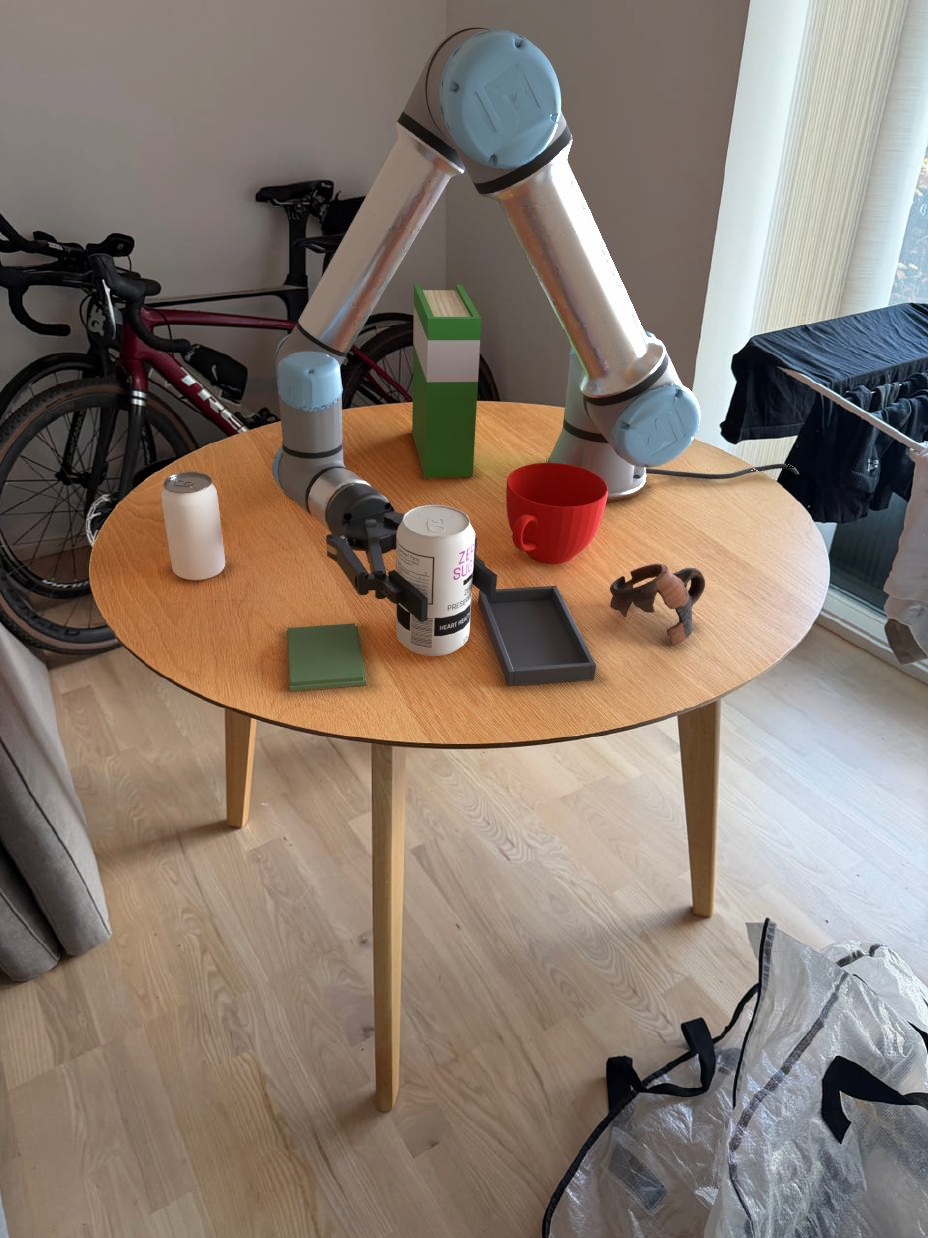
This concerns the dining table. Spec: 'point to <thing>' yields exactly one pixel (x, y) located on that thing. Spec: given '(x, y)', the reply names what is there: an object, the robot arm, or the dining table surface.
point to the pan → (535, 636)
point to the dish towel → (325, 657)
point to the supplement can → (436, 577)
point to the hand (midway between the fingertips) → (459, 598)
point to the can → (193, 526)
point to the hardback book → (445, 381)
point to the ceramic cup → (554, 510)
